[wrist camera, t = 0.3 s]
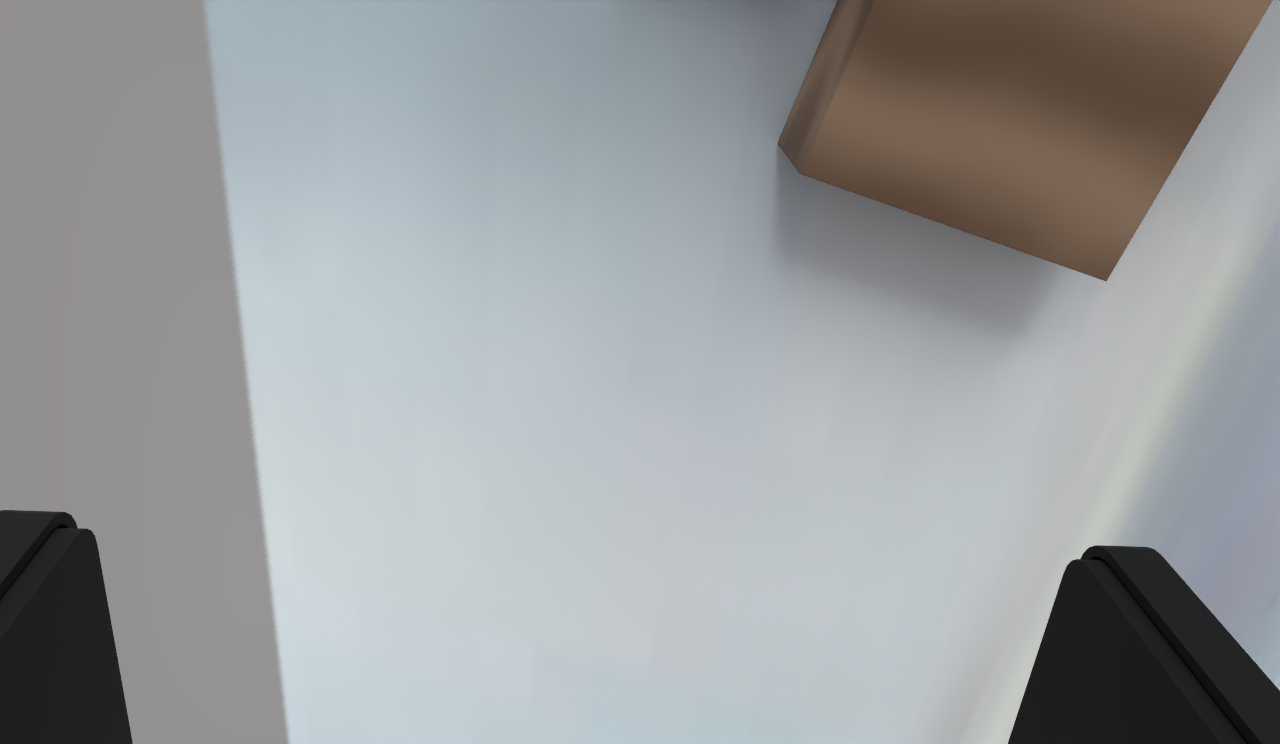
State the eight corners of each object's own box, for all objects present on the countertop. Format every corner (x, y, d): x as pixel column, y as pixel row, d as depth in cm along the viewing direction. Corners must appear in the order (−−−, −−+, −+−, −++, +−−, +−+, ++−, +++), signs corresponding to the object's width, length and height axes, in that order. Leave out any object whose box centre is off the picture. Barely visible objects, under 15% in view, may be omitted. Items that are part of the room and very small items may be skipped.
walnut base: (926, -211, 32) (970, -220, 29) (1234, -73, 35) (1310, -65, 31) (777, 143, 37) (799, 173, 34) (1057, 243, 40) (1106, 281, 36)
